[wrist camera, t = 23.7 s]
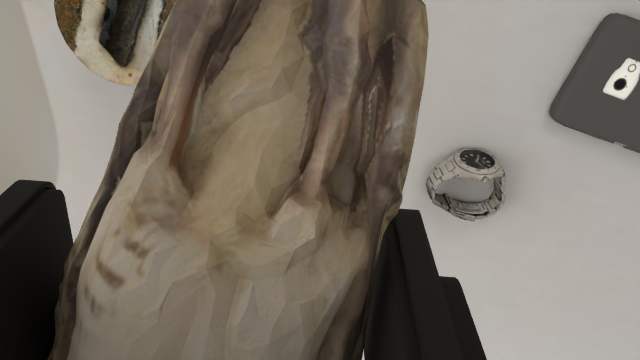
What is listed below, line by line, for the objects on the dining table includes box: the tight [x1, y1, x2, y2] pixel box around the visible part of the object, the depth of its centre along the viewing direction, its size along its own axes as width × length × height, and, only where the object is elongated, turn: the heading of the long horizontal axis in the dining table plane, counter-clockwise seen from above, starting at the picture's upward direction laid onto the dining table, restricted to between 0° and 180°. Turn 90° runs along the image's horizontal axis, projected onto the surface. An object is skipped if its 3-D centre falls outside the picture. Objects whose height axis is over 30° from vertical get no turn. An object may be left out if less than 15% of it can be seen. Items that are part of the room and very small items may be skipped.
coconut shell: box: [54, 0, 176, 85], centre depth 30 cm, size 8×8×6 cm
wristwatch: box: [426, 149, 505, 221], centre depth 36 cm, size 4×6×5 cm
